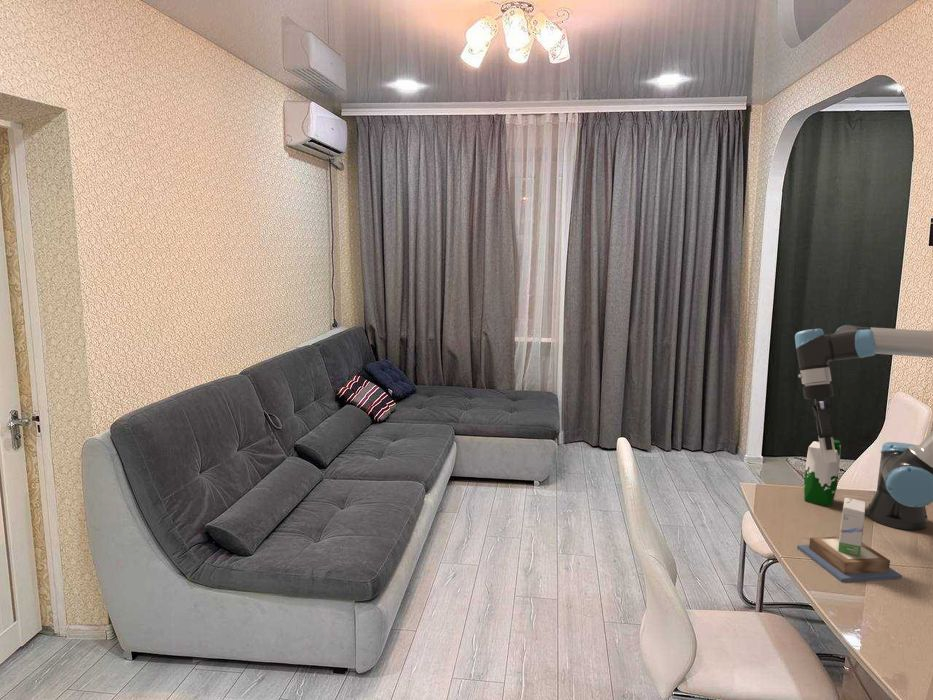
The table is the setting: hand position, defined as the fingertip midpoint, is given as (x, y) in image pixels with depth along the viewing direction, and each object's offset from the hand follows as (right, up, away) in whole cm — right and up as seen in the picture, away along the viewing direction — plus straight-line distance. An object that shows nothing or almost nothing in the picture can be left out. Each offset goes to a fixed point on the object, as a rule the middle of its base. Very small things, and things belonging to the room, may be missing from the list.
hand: (829, 460), depth 191 cm
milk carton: (+11, -17, +26) cm, 33 cm away
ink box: (-3, -20, -16) cm, 25 cm away
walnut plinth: (-3, -24, -15) cm, 28 cm away
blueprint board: (-3, -24, -15) cm, 28 cm away
